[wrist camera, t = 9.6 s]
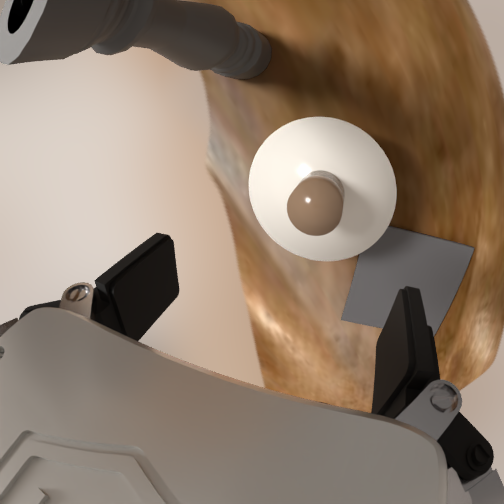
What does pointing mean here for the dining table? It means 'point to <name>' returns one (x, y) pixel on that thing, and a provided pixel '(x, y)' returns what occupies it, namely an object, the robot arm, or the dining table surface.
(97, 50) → the candle holder
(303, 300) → the dining table surface
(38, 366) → the robot arm
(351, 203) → the lid
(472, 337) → the dining table surface
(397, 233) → the mat
